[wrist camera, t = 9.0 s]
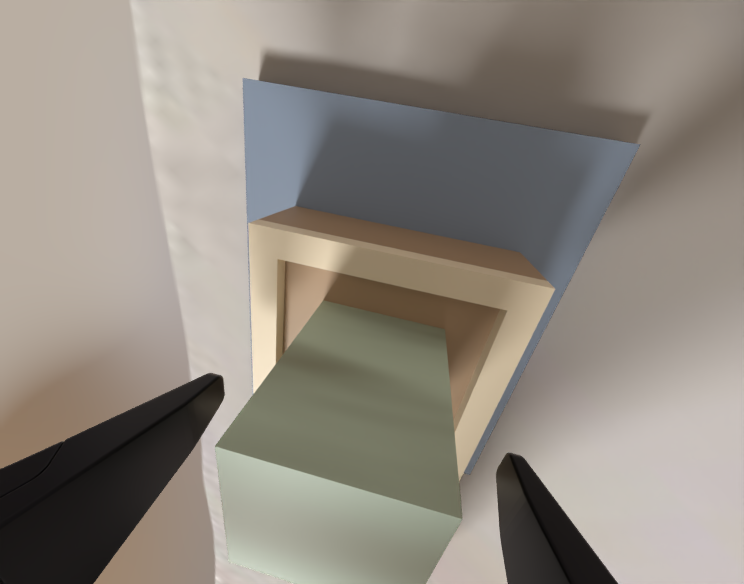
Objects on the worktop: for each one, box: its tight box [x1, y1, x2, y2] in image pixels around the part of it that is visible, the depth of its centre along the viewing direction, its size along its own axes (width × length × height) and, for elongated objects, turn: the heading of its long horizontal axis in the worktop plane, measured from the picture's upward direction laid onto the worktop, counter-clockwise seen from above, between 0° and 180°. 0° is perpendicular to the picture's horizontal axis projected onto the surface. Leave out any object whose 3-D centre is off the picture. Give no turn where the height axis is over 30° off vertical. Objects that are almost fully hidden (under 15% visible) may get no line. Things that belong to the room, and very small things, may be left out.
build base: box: [243, 78, 640, 481], centre depth 13 cm, size 18×14×5 cm
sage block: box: [215, 300, 462, 584], centre depth 9 cm, size 4×4×6 cm
